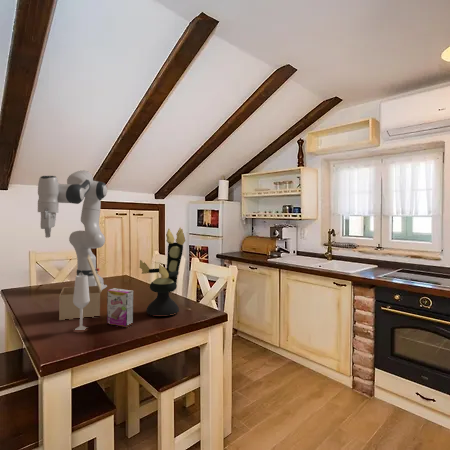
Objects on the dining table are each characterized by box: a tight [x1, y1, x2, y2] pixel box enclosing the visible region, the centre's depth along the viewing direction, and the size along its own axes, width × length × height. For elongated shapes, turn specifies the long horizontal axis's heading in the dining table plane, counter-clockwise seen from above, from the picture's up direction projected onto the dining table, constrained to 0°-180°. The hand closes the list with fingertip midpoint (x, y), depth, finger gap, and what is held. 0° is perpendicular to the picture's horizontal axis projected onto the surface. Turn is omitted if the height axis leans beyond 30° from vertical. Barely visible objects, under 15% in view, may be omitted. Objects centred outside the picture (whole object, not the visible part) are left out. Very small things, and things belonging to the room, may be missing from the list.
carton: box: [58, 286, 101, 321], centre depth 162 cm, size 18×16×12 cm
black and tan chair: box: [139, 226, 186, 316], centre depth 168 cm, size 19×22×45 cm
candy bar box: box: [106, 287, 134, 326], centre depth 148 cm, size 11×5×16 cm, turn 71°
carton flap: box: [87, 255, 102, 294], centre depth 164 cm, size 18×16×1 cm
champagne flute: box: [73, 275, 90, 330], centre depth 140 cm, size 7×7×24 cm
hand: (47, 237), depth 156 cm, fingers closed
